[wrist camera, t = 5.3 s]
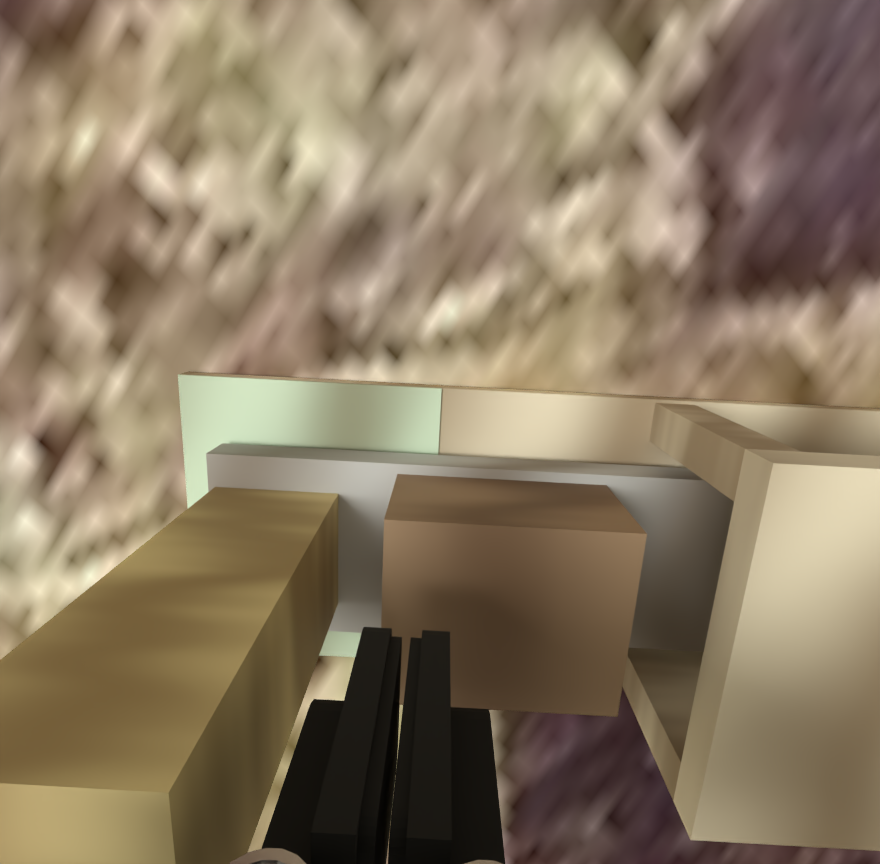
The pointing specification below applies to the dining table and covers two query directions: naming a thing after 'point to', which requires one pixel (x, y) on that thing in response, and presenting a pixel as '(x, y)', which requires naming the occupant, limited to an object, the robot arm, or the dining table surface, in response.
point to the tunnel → (738, 590)
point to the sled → (332, 628)
